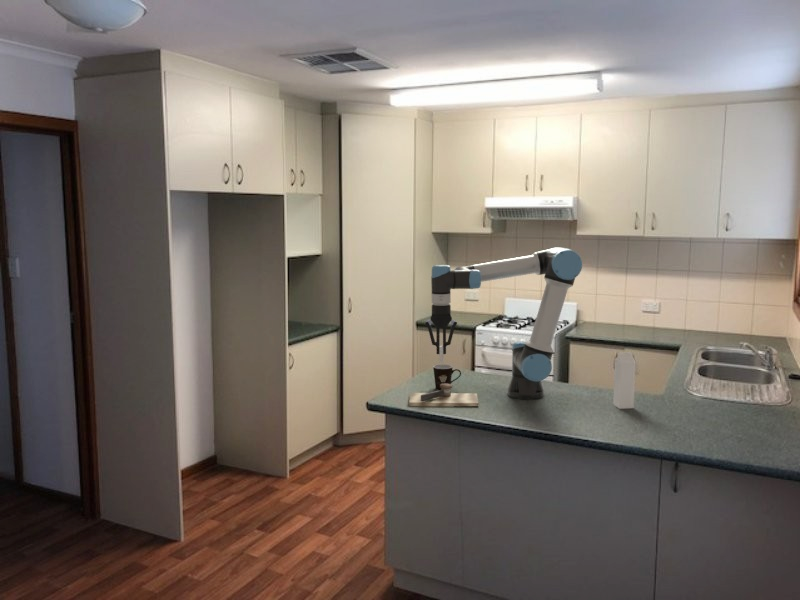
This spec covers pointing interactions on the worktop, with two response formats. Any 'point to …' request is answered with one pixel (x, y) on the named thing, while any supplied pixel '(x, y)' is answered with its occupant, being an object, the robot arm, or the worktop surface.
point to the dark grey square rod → (438, 392)
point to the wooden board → (445, 400)
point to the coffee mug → (443, 374)
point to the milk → (624, 381)
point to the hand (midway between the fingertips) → (441, 362)
